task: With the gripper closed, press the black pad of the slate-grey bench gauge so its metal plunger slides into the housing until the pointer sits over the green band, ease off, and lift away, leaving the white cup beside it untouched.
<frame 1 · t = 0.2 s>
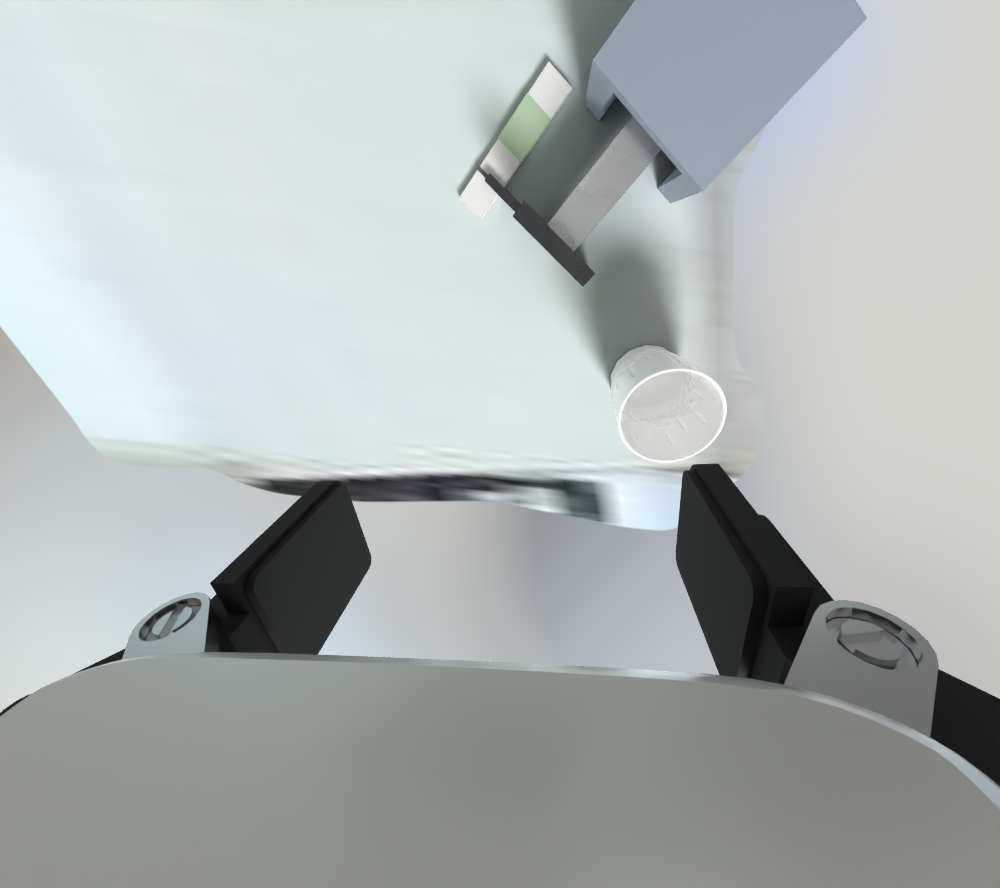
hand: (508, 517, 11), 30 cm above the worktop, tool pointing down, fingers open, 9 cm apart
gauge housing: (638, 143, 30), on the worktop
white cup: (644, 377, 38), on the worktop
plunger: (577, 172, 28), point 4 cm above the worktop, slide at 0.0 cm
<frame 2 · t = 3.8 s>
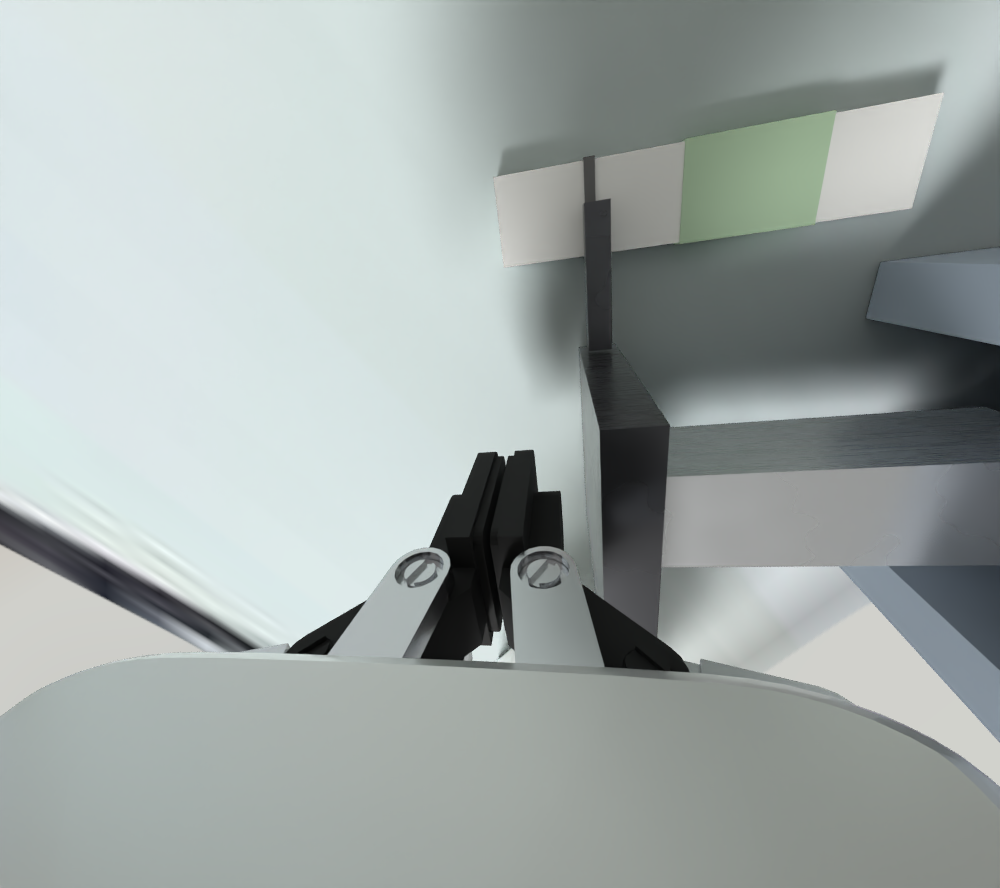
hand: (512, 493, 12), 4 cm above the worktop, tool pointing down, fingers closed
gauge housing: (872, 417, 13), on the worktop
plunger: (792, 412, 10), point 4 cm above the worktop, slide at 0.1 cm, touching gripper
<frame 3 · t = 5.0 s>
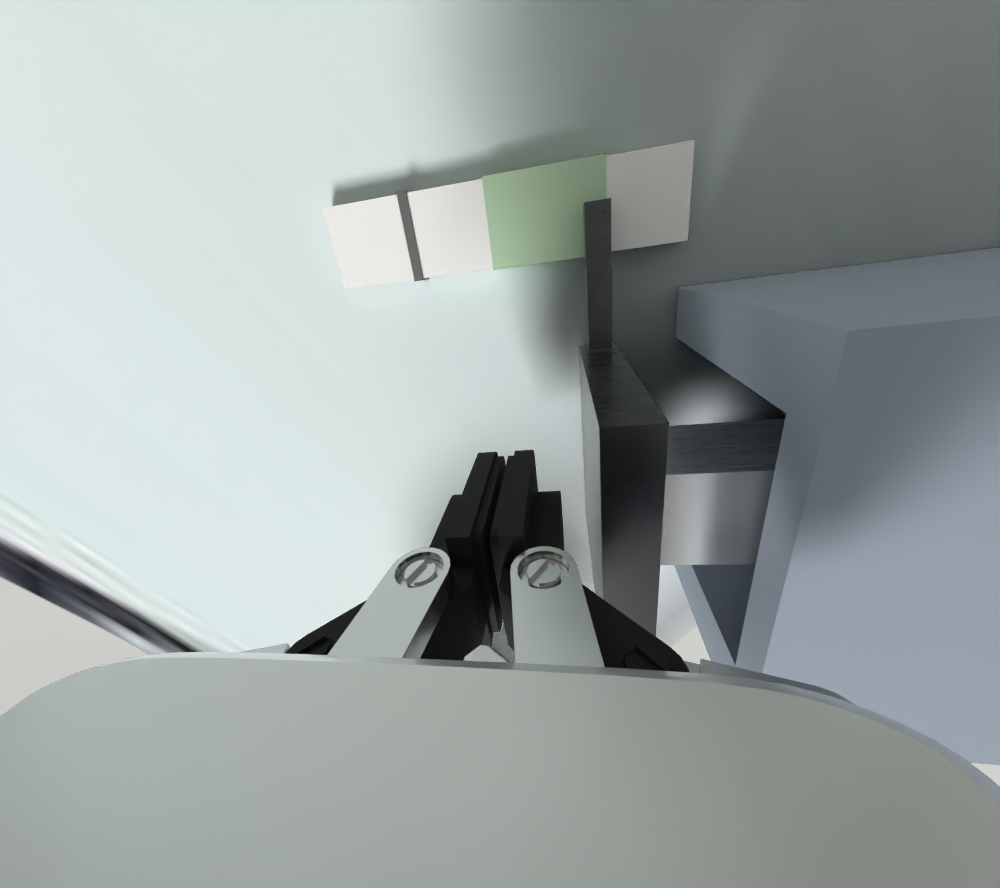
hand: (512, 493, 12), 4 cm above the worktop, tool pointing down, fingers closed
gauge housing: (698, 427, 14), on the worktop
white cup: (458, 668, 23), on the worktop
plunger: (791, 411, 10), point 4 cm above the worktop, slide at 5.7 cm, touching gripper
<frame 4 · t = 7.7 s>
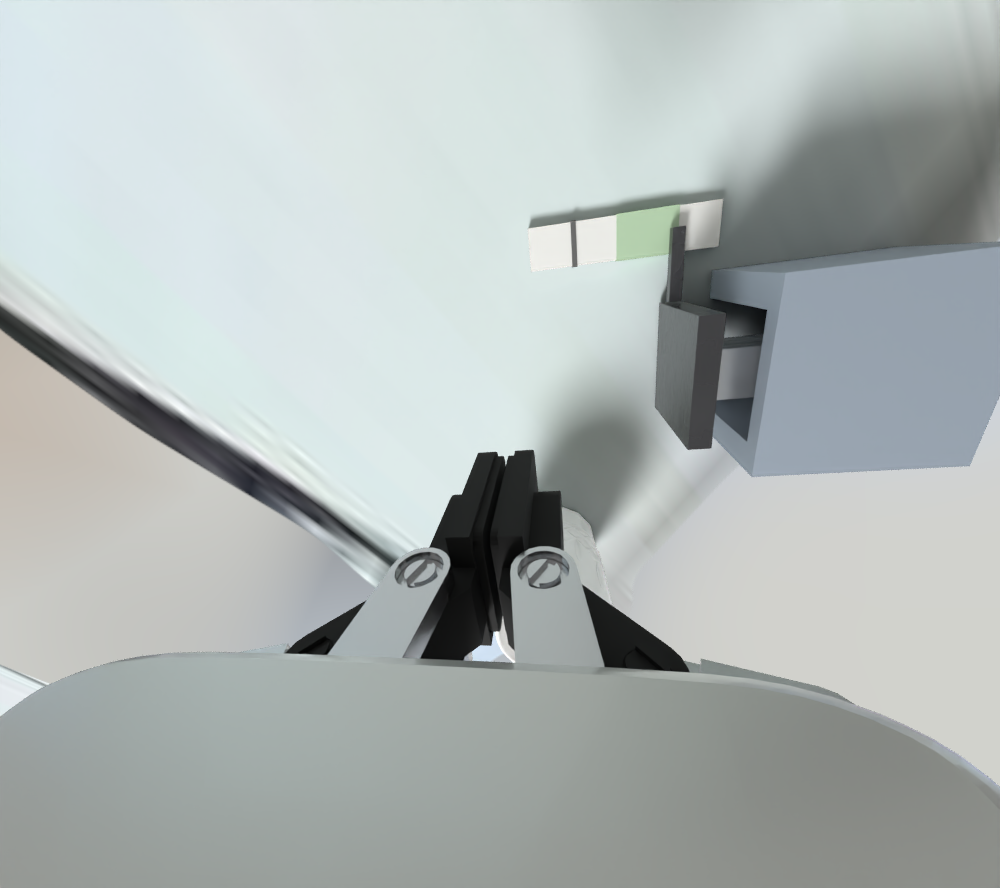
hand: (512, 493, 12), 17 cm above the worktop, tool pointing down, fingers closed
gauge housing: (720, 350, 25), on the worktop
white cup: (553, 535, 34), on the worktop
plunger: (772, 324, 21), point 4 cm above the worktop, slide at 5.8 cm
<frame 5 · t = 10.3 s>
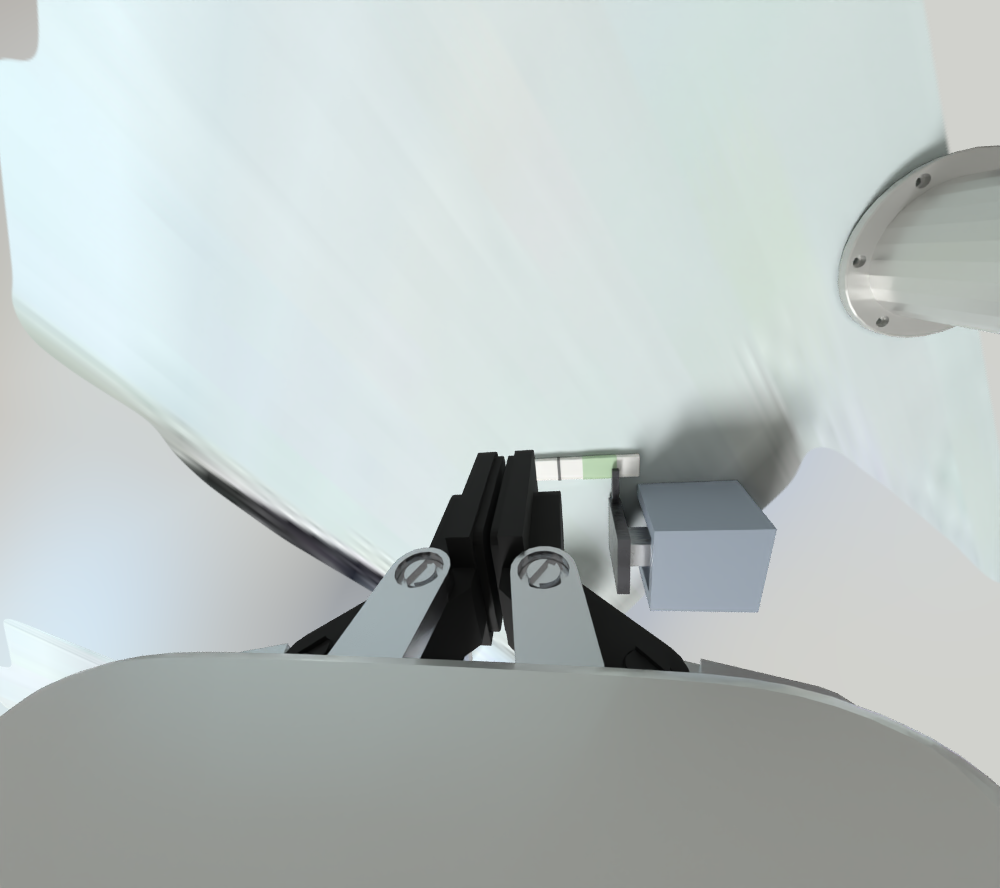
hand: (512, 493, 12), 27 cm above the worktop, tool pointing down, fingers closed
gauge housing: (645, 521, 43), on the worktop
plunger: (664, 527, 39), point 4 cm above the worktop, slide at 5.8 cm
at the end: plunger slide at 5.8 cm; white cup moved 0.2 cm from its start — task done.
